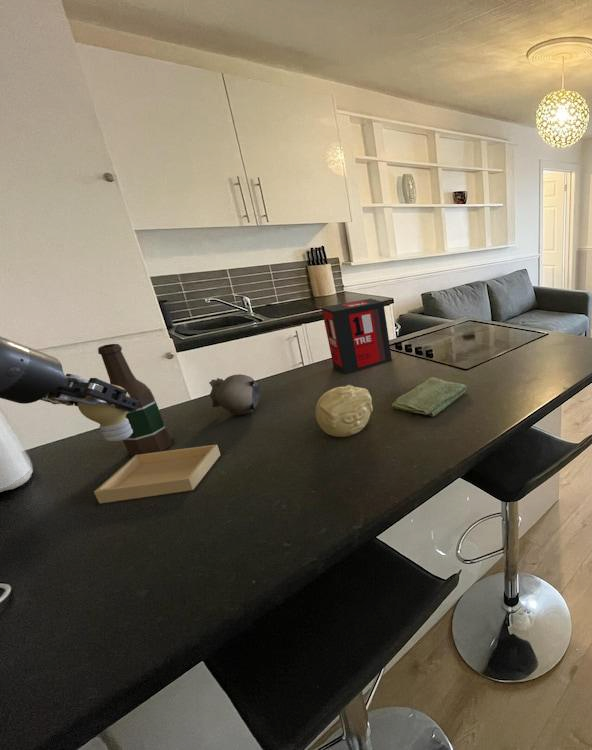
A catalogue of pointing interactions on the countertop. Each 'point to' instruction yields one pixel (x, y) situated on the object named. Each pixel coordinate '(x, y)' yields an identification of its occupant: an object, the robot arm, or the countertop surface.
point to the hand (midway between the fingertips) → (117, 406)
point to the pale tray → (158, 474)
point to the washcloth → (430, 397)
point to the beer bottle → (147, 417)
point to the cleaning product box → (357, 334)
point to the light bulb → (108, 420)
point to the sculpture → (344, 410)
